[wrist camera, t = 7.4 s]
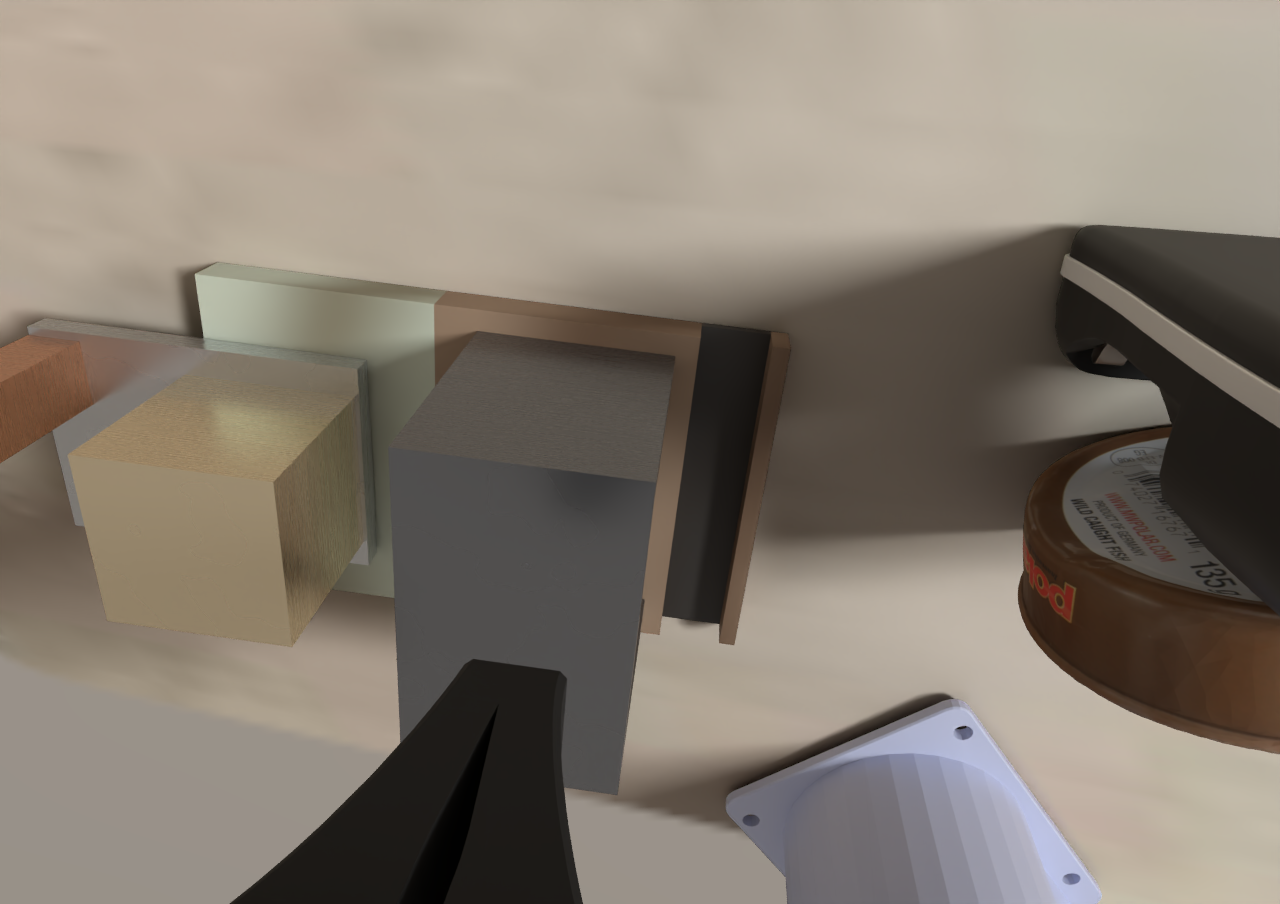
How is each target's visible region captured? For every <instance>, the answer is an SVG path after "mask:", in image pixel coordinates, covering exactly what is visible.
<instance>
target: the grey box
mask: <svg viewBox="0 0 1280 904" xmlns="http://www.w3.org/2000/svg"><path fill="white" fill-rule="evenodd" d="M674 364H675V356H672V355H664V354H656V353H649V352H641V351H633V350H625V349H617V348H609V347H601V346H593V345H585V344H577V343H570V342H562V341H554V340H546V339H538V338H530V337H522V336H514V335H506V334H498V333H491V332H483V331H477V332H476V334H475V335H474V336H473V338H472V339H471V340H470V342H469V343H468V344H467V345H466V347H465V348H464V349H463V351H462V352H461V353H460V355H459V356H458V357H457V358H456V360H455V361H454V362H453V364H452V365H451V366H450V368H449V369H448V370H447V371H446V373H445V374H444V375H443V377H442V378H441V379H440V381H439V382H438V383H437V384H436V386H435V387H434V388H433V390H432V391H431V392H430V393H429V395H428V396H427V397H426V399H425V400H424V401H423V403H422V404H421V405H420V406H419V408H418V409H417V410H416V412H415V413H414V414H413V416H412V417H411V418H410V419H409V421H408V422H407V423H406V425H405V426H404V427H403V429H402V430H401V431H400V432H399V434H398V435H397V436H396V438H395V439H394V440H393V442H392V443H391V444H390V445H389V447H388V455H389V479H390V503H391V527H392V551H393V575H394V599H395V623H396V647H397V671H398V694H399V718H400V742H402V741H403V740H404V739H405V738H406V737H407V735H408V734H409V733H410V732H411V731H412V730H413V729H414V728H415V726H416V725H417V724H418V723H419V722H420V720H421V719H422V718H423V717H424V716H425V714H426V713H427V712H428V711H429V710H430V709H431V707H432V706H433V705H434V704H435V702H436V701H437V700H438V699H439V697H440V696H441V695H442V694H443V692H444V691H445V690H446V689H447V687H448V686H449V685H450V683H451V682H452V681H453V679H454V678H455V677H456V675H457V674H458V673H459V671H460V670H461V668H462V667H463V666H464V664H466V663H467V662H469V661H470V660H472V659H478V660H485V661H492V662H499V663H506V664H513V665H521V666H528V667H535V668H542V669H549V670H556V671H560V672H561V673H562V674H563V675H564V676H565V677H566V678H567V689H566V702H565V715H564V727H563V740H562V753H561V759H562V773H563V783H564V787H566V788H572V789H579V790H586V791H593V792H600V793H607V794H614V795H617V794H618V787H619V780H620V773H621V766H622V759H623V752H624V745H625V738H626V731H627V724H628V717H629V710H630V703H631V696H632V689H633V682H634V675H635V668H636V661H637V653H638V646H639V639H640V632H641V625H642V618H643V611H644V603H645V599H642V596H643V588H644V579H645V571H646V563H647V555H648V547H649V539H650V531H651V523H652V515H653V507H654V499H655V492H656V485H657V479H658V472H659V465H660V459H661V452H662V446H663V439H664V433H665V426H666V420H667V413H668V407H669V400H670V393H671V387H672V380H673V372H674Z"/></svg>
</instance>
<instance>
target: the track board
mask: <svg viewBox="0 0 1280 904" xmlns="http://www.w3.org/2000/svg"><path fill="white" fill-rule="evenodd" d="M195 280H196V287H197V294H198V301H199V308H200V315H201V322H202V329H203V336H204V339H212V340H220V341H228V342H236V343H243V344H251V345H259V346H267V347H274V348H282V349H290V350H298V351H306V352H313V353H321V354H329V355H337V356H345V357H352V358H360V359H367V365H368V384H369V404H370V423H371V442H372V462H373V481H374V500H375V519H376V539H377V553H376V555H375V557H374V558H373V560H372V561H371V563H370V564H369V566H368V565H361V564H354V563H349V564H348V566H347V567H346V569H345V570H344V571H343V573H342V574H341V576H340V577H339V579H338V580H337V582H336V583H335V585H334V586H333V588H332V590H339V591H346V592H354V593H361V594H368V595H375V596H382V597H390V598H394V575H393V551H392V527H391V503H390V479H389V455H388V447H389V445H390V444H391V443H392V442H393V440H394V439H395V438H396V436H397V435H398V434H399V432H400V431H401V430H402V429H403V427H404V426H405V425H406V423H407V422H408V421H409V419H410V418H411V417H412V416H413V414H414V413H415V412H416V410H417V409H418V408H419V406H420V405H421V404H422V403H423V401H424V400H425V399H426V397H427V396H428V395H429V393H430V392H431V391H432V390H433V388H434V387H435V386H436V384H437V383H438V382H439V381H440V379H441V378H442V377H443V375H444V374H445V373H446V371H447V370H448V369H449V368H450V366H451V365H452V364H453V362H454V361H455V360H456V358H457V357H458V356H459V355H460V353H461V352H462V351H463V349H464V348H465V347H466V345H467V344H468V343H469V342H470V340H471V339H472V338H473V336H474V335H475V334H476V332H477V331H483V332H491V333H498V334H506V335H514V336H522V337H530V338H538V339H546V340H554V341H562V342H570V343H577V344H585V345H593V346H601V347H609V348H617V349H625V350H633V351H641V352H649V353H656V354H664V355H672V356H675V364H674V372H673V380H672V387H671V393H670V400H669V407H668V413H667V420H666V426H665V433H664V439H663V446H662V452H661V459H660V465H659V472H658V479H657V485H656V492H655V499H654V507H653V515H652V523H651V531H650V539H649V547H648V555H647V563H646V571H645V579H644V588H643V596H642V599H645V603H644V611H643V618H642V625H641V632H643V633H650V634H657V635H659V634H660V627H661V620H662V616H665V617H672V618H680V619H687V620H694V621H701V622H709V623H716V624H720V625H719V643H722V644H730V645H734V643H735V638H736V633H737V628H738V623H739V617H740V612H741V607H742V602H743V596H744V591H745V586H746V581H747V576H748V570H749V565H750V560H751V555H752V550H753V544H754V539H755V534H756V529H757V523H758V518H759V513H760V508H761V503H762V497H763V492H764V487H765V482H766V476H767V471H768V466H769V461H770V456H771V450H772V445H773V440H774V435H775V429H776V424H777V419H778V414H779V409H780V403H781V398H782V393H783V388H784V383H785V377H786V372H787V367H788V362H789V356H790V351H791V347H790V341H789V335H788V334H786V333H778V332H770V331H762V330H754V329H746V328H738V327H730V326H722V325H714V324H706V323H698V322H690V321H682V320H674V319H666V318H658V317H650V316H642V315H634V314H626V313H618V312H611V311H603V310H595V309H587V308H579V307H571V306H563V305H555V304H547V303H539V302H531V301H523V300H515V299H507V298H499V297H491V296H483V295H475V294H467V293H459V292H451V291H443V290H435V289H427V288H419V287H411V286H403V285H395V284H387V283H379V282H371V281H363V280H355V279H347V278H339V277H331V276H323V275H315V274H307V273H299V272H291V271H283V270H275V269H267V268H259V267H251V266H243V265H235V264H227V263H219V262H218V263H216V264H214V265H212V266H210V267H208V268H206V269H204V270H202V271H200V272H198V273H196V274H195Z"/></svg>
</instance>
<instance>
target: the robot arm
mask: <svg viewBox="0 0 1280 904" xmlns="http://www.w3.org/2000/svg"><path fill="white" fill-rule="evenodd" d="M566 689H567V678H566V677H565V676H564V675H563V674H562V673H561V672H560V671H556V670H549V669H542V668H535V667H528V666H521V665H513V664H506V663H499V662H492V661H485V660H478V659H472V660H470V661H469V662H467V663H466V664H464V666H463V667H462V668H461V670H460V671H459V673H458V674H457V675H456V677H455V678H454V679H453V681H452V682H451V683H450V685H449V686H448V687H447V689H446V690H445V691H444V692H443V694H442V695H441V696H440V697H439V699H438V700H437V701H436V702H435V704H434V705H433V706H432V707H431V709H430V710H429V711H428V712H427V713H426V714H425V716H424V717H423V718H422V719H421V720H420V722H419V723H418V724H417V725H416V726H415V728H414V729H413V730H412V731H411V732H410V733H409V734H408V735H407V737H406V738H405V739H404V740H403V741H402V742H401V743H400V744H399V745H398V747H397V748H396V749H395V750H394V751H393V752H392V753H391V754H390V755H389V757H388V758H387V759H386V760H385V761H384V762H383V763H382V764H381V765H380V767H379V768H378V769H377V770H376V771H375V772H374V773H373V774H372V775H371V776H370V777H369V778H368V779H367V780H366V781H365V782H364V784H362V785H361V786H360V787H359V788H358V789H357V790H356V791H355V792H354V793H353V794H352V795H351V796H350V797H349V798H348V799H347V800H346V801H345V802H344V803H343V804H342V805H341V806H340V807H339V808H338V809H337V810H336V811H335V812H334V813H333V814H332V815H331V816H330V817H329V818H328V819H327V820H326V821H325V822H324V823H323V824H322V825H321V826H320V827H319V828H318V829H316V830H315V831H314V832H313V833H312V834H311V835H310V836H309V837H308V838H307V839H306V840H304V841H303V843H301V844H300V845H299V846H298V847H297V848H296V849H294V850H293V852H291V853H290V854H289V855H288V856H287V857H286V858H284V859H283V860H282V861H281V862H280V863H278V864H277V865H276V866H275V867H274V868H273V869H271V870H270V871H269V872H268V873H267V874H266V875H264V876H263V877H262V878H261V879H260V880H259V881H257V882H256V883H255V884H254V885H252V886H251V887H250V888H249V889H247V890H246V891H245V892H244V893H242V894H241V895H240V896H239V897H237V898H236V899H235V900H234V901H232V902H231V903H230V904H583V902H582V897H581V893H580V888H579V883H578V878H577V873H576V868H575V862H574V857H573V851H572V845H571V840H570V833H569V826H568V819H567V812H566V803H565V793H564V783H563V773H562V759H561V753H562V740H563V727H564V715H565V702H566ZM960 726H967V727H966V728H965V729H960V730H959V729H956V728H958V727H960ZM726 812H727V814H728V815H729V816H730V817H731V818H732V820H733V821H734V822H735V823H736V824H737V825H738V826H739V827H740V828H741V829H742V830H743V831H744V833H745V834H746V835H747V836H748V837H749V838H750V839H751V840H752V841H753V842H754V843H755V845H756V846H757V847H758V848H759V849H760V850H761V851H762V852H763V853H764V854H765V855H766V856H767V858H768V859H769V860H770V861H771V862H772V863H773V864H774V865H775V866H776V867H777V868H778V869H779V871H780V872H781V873H782V874H783V875H784V876H785V877H786V889H787V904H1097V903H1098V902H1099V901H1100V900H1101V897H1102V894H1101V891H1100V889H1099V886H1098V884H1097V882H1096V881H1095V879H1094V878H1093V876H1092V875H1091V874H1090V872H1089V871H1088V870H1087V868H1086V867H1085V865H1084V864H1083V863H1082V861H1081V860H1080V858H1079V857H1078V856H1077V854H1076V853H1075V852H1074V850H1073V849H1072V847H1071V846H1070V845H1069V843H1068V842H1067V841H1066V839H1065V838H1064V836H1063V835H1062V834H1061V832H1060V831H1059V829H1058V828H1057V827H1056V825H1055V824H1054V823H1053V821H1052V820H1051V818H1050V817H1049V816H1048V814H1047V813H1046V812H1045V810H1044V809H1043V807H1042V806H1041V805H1040V803H1039V802H1038V800H1037V799H1036V798H1035V796H1034V795H1033V794H1032V792H1031V791H1030V789H1029V788H1028V787H1027V785H1026V784H1025V783H1024V781H1023V780H1022V778H1021V777H1020V776H1019V774H1018V773H1017V771H1016V770H1015V769H1014V767H1013V766H1012V765H1011V763H1010V762H1009V760H1008V759H1007V758H1006V756H1005V755H1004V754H1003V752H1002V751H1001V749H1000V748H999V747H998V745H997V744H996V742H995V741H994V740H993V738H992V737H991V736H990V734H989V733H988V731H987V730H986V729H985V727H984V726H983V725H982V723H981V722H980V720H979V719H978V718H977V716H976V715H975V714H974V712H973V711H972V709H971V708H970V707H969V705H968V704H966V703H965V702H964V701H961V700H959V699H948V700H945V701H942V702H940V703H937V704H935V705H933V706H930V707H928V708H926V709H923V710H921V711H919V712H916V713H914V714H912V715H909V716H907V717H905V718H902V719H900V720H898V721H895V722H893V723H891V724H888V725H886V726H884V727H881V728H879V729H877V730H874V731H872V732H870V733H867V734H865V735H863V736H860V737H858V738H856V739H853V740H851V741H849V742H846V743H844V744H842V745H839V746H837V747H835V748H832V749H830V750H828V751H825V752H823V753H821V754H819V755H816V756H814V757H812V758H809V759H807V760H805V761H802V762H800V763H798V764H795V765H793V766H791V767H788V768H786V769H784V770H781V771H779V772H777V773H774V774H772V775H770V776H767V777H765V778H763V779H760V780H758V781H756V782H753V783H751V784H749V785H746V786H744V787H742V788H739V789H737V790H735V791H733V792H731V793H730V794H728V796H727V797H726ZM750 814H751V815H753V816H749V815H750Z"/></svg>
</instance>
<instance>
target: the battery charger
mask: <svg viewBox="0 0 1280 904" xmlns="http://www.w3.org/2000/svg"><path fill="white" fill-rule="evenodd" d="M1060 274H1061V275H1062V276H1063V281H1062V285H1061V288H1060V292H1059V296H1058V300H1057V303H1056V325H1055V328H1056V335H1057V340H1058V344H1059V347H1060V349H1061V351H1062V353H1063V355H1064V356H1065V357H1066V358H1067V360H1068V361H1070V362H1071V363H1072V364H1073V365H1074V366H1076V367H1077V368H1078V369H1080V370H1082V371H1085V372H1087V373H1091V374H1096V375H1102V376H1107V377H1116V378H1127V379H1139V380H1151V381H1152V382H1153V383H1155V384H1156V385H1157V386H1158V387H1159V389H1160V391H1161V394H1162V397H1163V400H1164V402H1165V405H1166V408H1167V411H1168V414H1169V417H1170V421H1171V424H1172V430H1171V433H1170V436H1169V438H1168V441H1167V444H1166V447H1165V452H1164V456H1163V461H1162V465H1161V470H1160V474H1159V477H1160V485H1161V494H1162V498H1163V499H1164V500H1165V501H1166V503H1167V504H1168V505H1169V506H1170V507H1171V508H1172V509H1173V510H1174V511H1175V513H1176V514H1177V515H1178V516H1179V517H1180V518H1181V519H1182V520H1183V522H1184V523H1185V524H1186V525H1187V526H1188V527H1189V529H1190V530H1191V531H1192V532H1193V533H1194V535H1195V536H1196V537H1197V538H1198V539H1199V540H1200V542H1201V543H1202V544H1203V545H1204V546H1205V548H1206V549H1207V550H1208V551H1209V552H1210V553H1211V554H1212V555H1213V556H1214V557H1216V558H1217V559H1218V560H1219V561H1220V562H1221V563H1222V564H1223V565H1224V566H1225V567H1226V568H1227V569H1228V570H1229V571H1230V572H1231V573H1232V574H1233V575H1234V576H1236V577H1237V578H1238V579H1239V580H1240V581H1241V582H1242V583H1243V584H1244V585H1245V586H1247V587H1248V588H1249V589H1250V590H1251V591H1252V592H1253V593H1254V594H1255V595H1256V596H1257V597H1259V598H1260V599H1261V600H1262V601H1263V602H1264V603H1265V604H1266V605H1268V606H1269V607H1270V608H1271V609H1272V610H1273V611H1274V612H1276V613H1277V614H1278V615H1279V616H1280V238H1274V237H1261V236H1248V235H1234V234H1220V233H1206V232H1193V231H1179V230H1165V229H1151V228H1136V227H1122V226H1107V225H1091V226H1086V227H1084V228H1082V229H1081V230H1080V231H1079V232H1078V233H1077V234H1076V236H1075V239H1074V241H1073V244H1072V248H1071V251H1070V254H1066V255H1065V256H1064V260H1063V264H1062V268H1061V271H1060Z"/></svg>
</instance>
